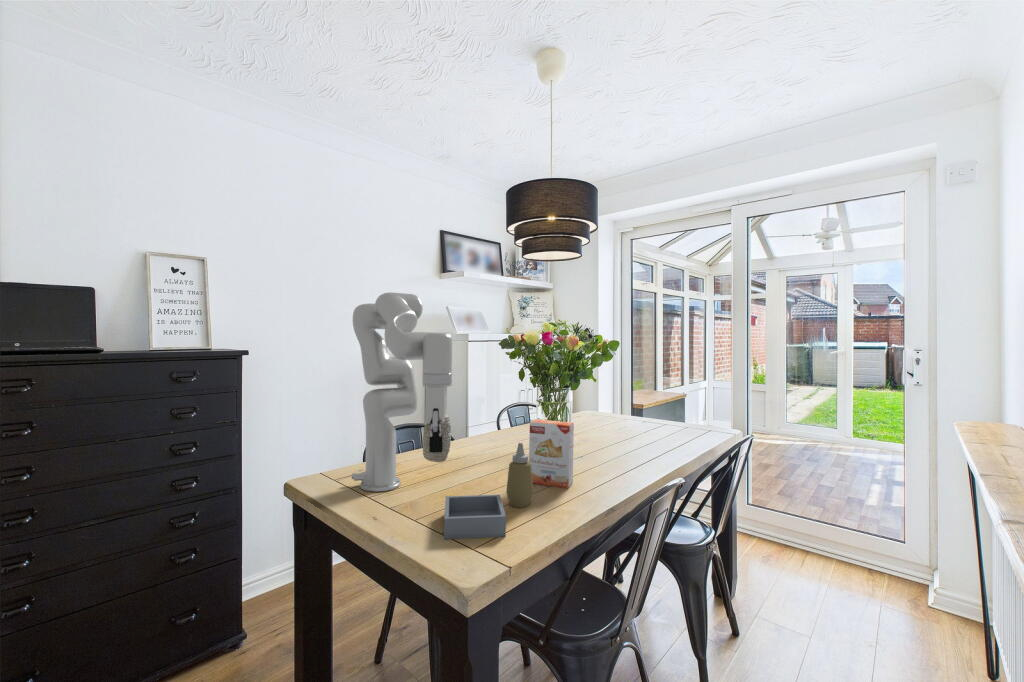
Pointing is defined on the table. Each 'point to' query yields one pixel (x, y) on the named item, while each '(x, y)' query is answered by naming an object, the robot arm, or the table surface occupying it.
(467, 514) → the bin
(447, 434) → the carving
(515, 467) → the squeeze bottle
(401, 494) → the table surface
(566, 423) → the cracker box
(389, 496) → the table surface
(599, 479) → the table surface
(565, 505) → the table surface
